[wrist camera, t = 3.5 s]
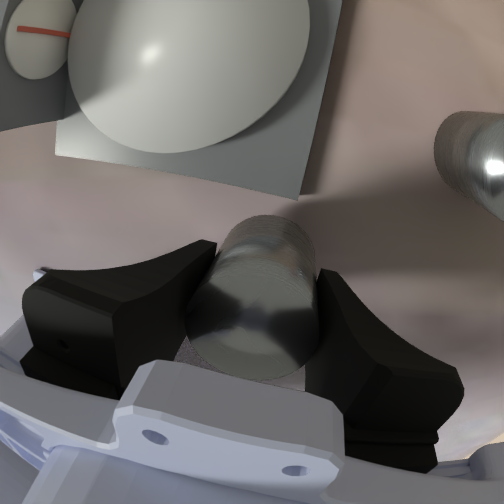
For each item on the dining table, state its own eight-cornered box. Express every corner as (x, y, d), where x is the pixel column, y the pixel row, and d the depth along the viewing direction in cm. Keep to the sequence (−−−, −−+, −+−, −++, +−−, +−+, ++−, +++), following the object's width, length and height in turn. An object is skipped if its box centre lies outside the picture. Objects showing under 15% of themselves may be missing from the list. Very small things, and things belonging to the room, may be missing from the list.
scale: (297, 195, 14) (293, 252, 8) (37, 149, 15) (-39, 175, 9) (351, -53, 8) (370, -124, 3) (74, -44, 9) (8, -68, 3)
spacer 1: (300, 307, 14) (296, 390, 10) (216, 286, 14) (181, 361, 10) (326, 228, 12) (338, 295, 8) (230, 204, 13) (190, 258, 8)
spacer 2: (485, 203, 12) (542, 242, 8) (424, 177, 12) (475, 210, 8) (505, 131, 10) (570, 147, 6) (444, 97, 11) (505, 96, 6)
